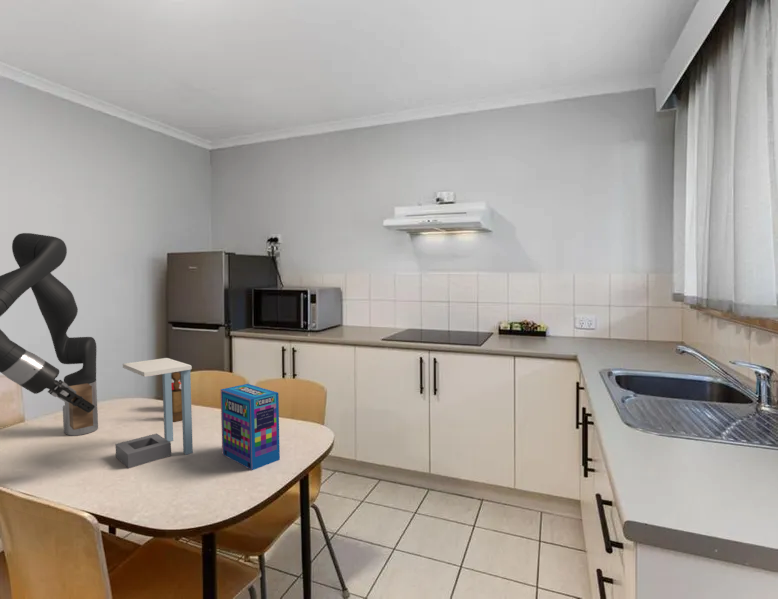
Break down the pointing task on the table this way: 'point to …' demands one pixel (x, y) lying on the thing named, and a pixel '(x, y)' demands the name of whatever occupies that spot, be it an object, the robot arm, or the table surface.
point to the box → (250, 425)
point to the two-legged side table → (170, 394)
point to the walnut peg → (77, 414)
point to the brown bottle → (176, 398)
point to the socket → (143, 450)
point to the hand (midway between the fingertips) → (89, 407)
